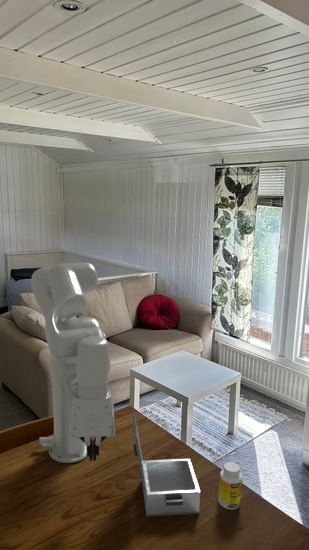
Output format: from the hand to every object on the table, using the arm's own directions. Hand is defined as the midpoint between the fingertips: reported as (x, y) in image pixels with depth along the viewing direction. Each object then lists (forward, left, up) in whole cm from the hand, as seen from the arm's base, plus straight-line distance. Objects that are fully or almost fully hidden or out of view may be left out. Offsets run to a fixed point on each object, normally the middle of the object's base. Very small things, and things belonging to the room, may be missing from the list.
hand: (92, 457), depth 102 cm
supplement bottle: (+34, -3, -12) cm, 37 cm away
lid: (+12, 0, +1) cm, 12 cm away
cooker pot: (+19, 0, -12) cm, 23 cm away
